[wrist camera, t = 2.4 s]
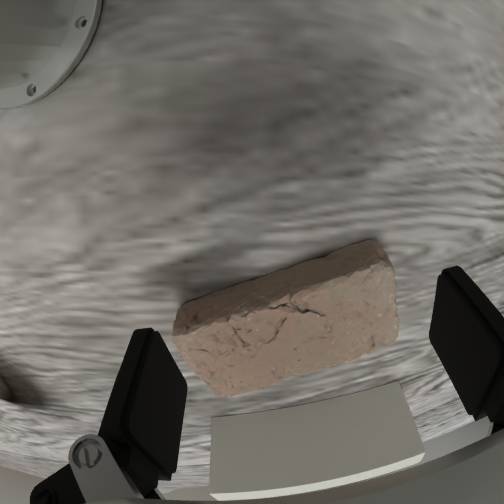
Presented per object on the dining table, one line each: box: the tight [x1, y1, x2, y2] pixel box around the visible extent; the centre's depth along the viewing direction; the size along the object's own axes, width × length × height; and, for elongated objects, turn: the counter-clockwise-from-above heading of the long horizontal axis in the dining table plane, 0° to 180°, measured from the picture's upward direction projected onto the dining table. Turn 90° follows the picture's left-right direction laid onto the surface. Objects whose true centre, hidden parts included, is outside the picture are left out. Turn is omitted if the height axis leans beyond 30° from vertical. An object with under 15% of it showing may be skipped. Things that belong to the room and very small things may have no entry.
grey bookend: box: [209, 381, 426, 501], centre depth 31 cm, size 8×22×10 cm, turn 102°
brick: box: [172, 239, 399, 397], centre depth 24 cm, size 17×8×5 cm, turn 111°
